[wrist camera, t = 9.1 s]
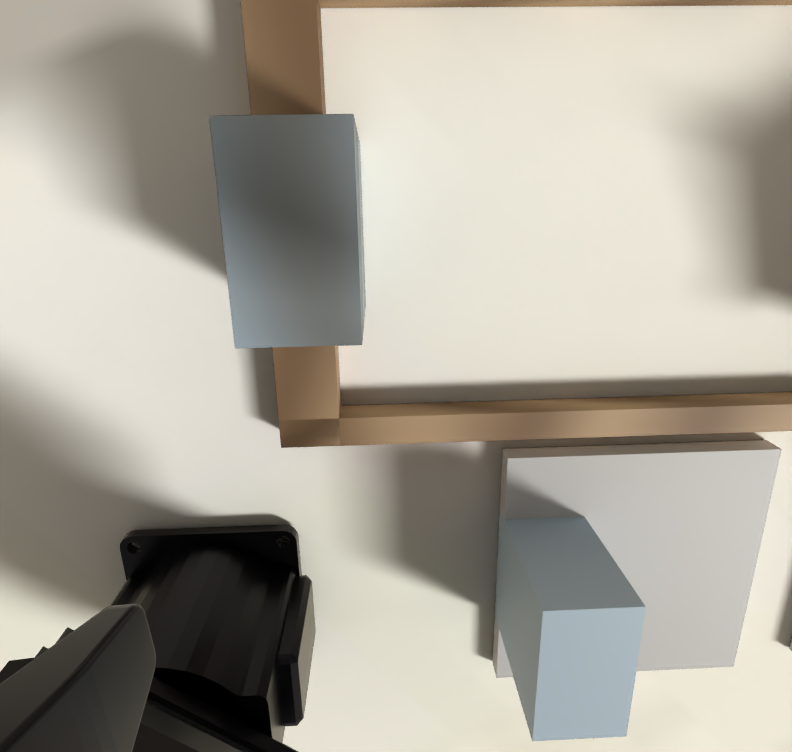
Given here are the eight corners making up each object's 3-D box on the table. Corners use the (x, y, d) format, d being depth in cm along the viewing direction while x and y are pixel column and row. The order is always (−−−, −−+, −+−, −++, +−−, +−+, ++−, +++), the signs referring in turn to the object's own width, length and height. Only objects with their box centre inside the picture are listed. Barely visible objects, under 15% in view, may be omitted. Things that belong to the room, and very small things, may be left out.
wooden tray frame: (286, 433, 19) (254, 518, 14) (246, -34, 15) (177, -163, 10) (1031, 409, 20) (1262, 480, 15) (1196, -37, 16) (1603, -158, 11)
